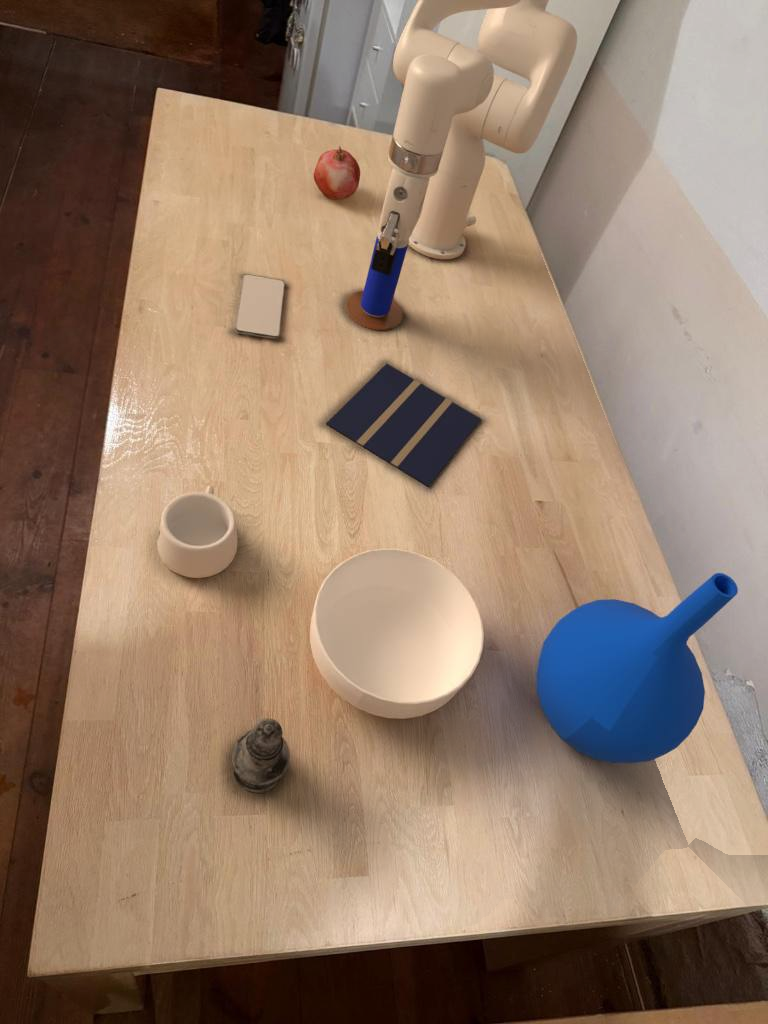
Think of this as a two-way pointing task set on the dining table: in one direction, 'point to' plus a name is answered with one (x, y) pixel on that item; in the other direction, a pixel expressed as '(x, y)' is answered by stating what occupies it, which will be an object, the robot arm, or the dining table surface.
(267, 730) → the dark stone chess piece
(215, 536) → the mug
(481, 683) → the dining table surface
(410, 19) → the robot arm
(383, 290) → the beverage can
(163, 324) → the dining table surface
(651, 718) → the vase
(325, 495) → the dining table surface
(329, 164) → the fruit
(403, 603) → the bowl
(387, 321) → the coaster
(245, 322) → the smartphone
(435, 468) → the plate
